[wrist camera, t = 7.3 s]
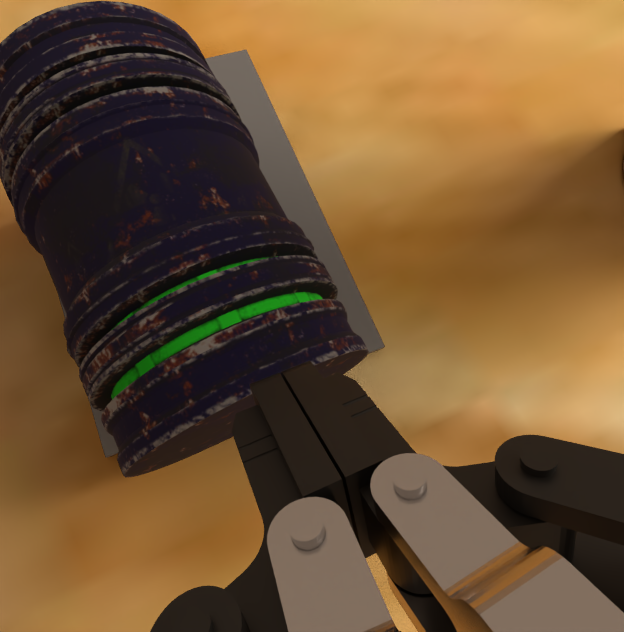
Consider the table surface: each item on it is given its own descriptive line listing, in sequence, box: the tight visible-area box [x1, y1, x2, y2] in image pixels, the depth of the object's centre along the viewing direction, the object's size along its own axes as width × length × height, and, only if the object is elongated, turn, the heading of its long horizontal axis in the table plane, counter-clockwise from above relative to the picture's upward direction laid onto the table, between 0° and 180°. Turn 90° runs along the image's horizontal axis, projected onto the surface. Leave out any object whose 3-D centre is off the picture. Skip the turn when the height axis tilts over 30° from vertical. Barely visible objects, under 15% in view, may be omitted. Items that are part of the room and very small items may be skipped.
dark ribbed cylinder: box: [0, 1, 369, 477], centre depth 19 cm, size 10×10×15 cm
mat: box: [59, 50, 385, 457], centre depth 25 cm, size 20×14×1 cm
